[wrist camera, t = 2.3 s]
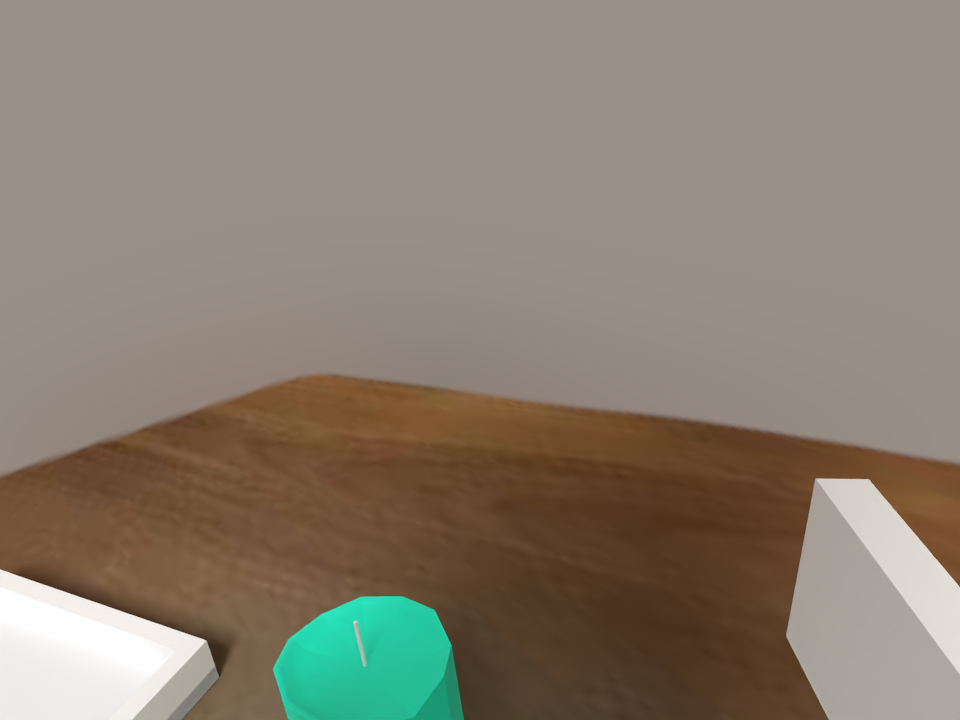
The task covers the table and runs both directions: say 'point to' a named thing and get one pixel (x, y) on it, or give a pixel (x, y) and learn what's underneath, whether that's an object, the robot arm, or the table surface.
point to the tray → (92, 660)
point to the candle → (370, 665)
